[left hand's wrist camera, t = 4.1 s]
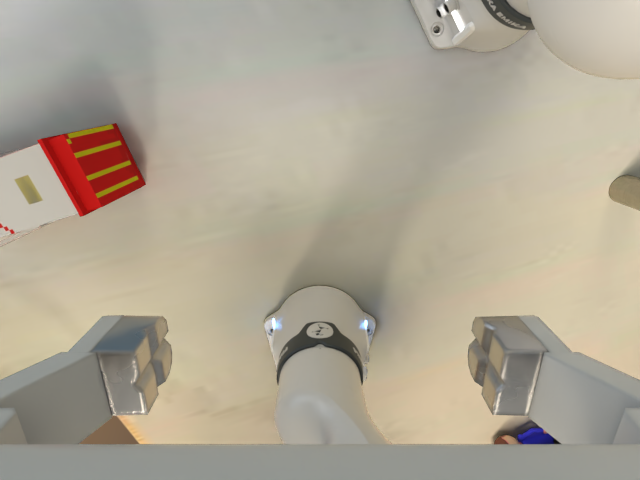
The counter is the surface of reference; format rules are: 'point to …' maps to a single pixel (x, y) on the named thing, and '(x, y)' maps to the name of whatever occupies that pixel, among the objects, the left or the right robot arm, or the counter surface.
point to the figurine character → (528, 438)
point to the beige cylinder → (626, 191)
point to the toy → (64, 179)
